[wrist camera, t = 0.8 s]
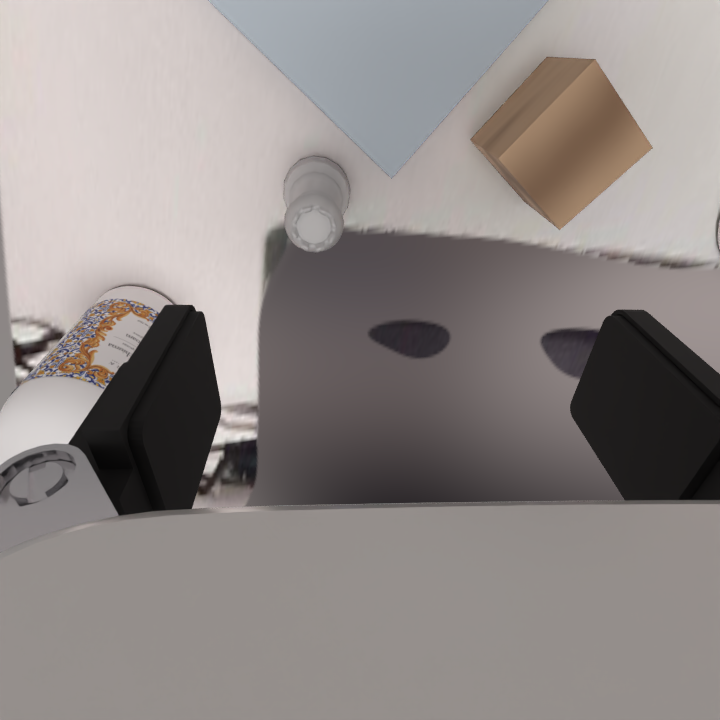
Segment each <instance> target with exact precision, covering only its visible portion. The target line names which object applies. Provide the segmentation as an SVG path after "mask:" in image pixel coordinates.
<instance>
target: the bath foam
mask: <svg viewBox="0 0 720 720" xmlns="http://www.w3.org/2000/svg"><path fill="white" fill-rule="evenodd" d="M165 305H173V304H172V303H171V302H170V301H169V300H168V299H166V298H165V297H163V296H162V295H160V294H158V293H156V292H154V291H152V290H149V289H146V288H142V287H136V286H123V287H118V288H114V289H112V290H109V291H108V292H106V293H105V294H103V295H102V296H101V297H100V298H99V299H98V300H97V301H96V302H95V303H94V304H93V305H92V307H91V308H90V309H88V310H87V311H86V312H85V314H84V315H83V316H82V317H81V318H80V319H79V320H78V321H77V322H76V323H75V324H74V326H73V327H72V328H71V329H70V330H69V331H68V332H67V333H66V334H65V335H64V336H63V338H62V339H61V340H60V341H59V342H58V343H57V344H56V345H55V346H54V347H53V348H52V350H51V351H50V352H49V353H48V354H47V355H46V356H45V357H44V358H43V359H42V360H41V362H40V363H39V364H38V365H37V366H36V367H35V368H34V369H33V370H32V371H31V372H30V374H29V375H28V376H27V377H26V378H25V379H24V380H23V381H22V382H21V383H20V385H19V386H18V387H17V388H16V389H15V390H14V391H13V392H12V394H11V395H10V397H9V399H8V400H7V401H6V403H5V405H4V406H3V408H2V410H1V412H0V465H1V464H3V463H4V462H5V461H7V460H8V459H9V458H11V457H13V456H15V455H17V454H19V453H21V452H23V451H26V450H29V449H32V448H35V447H38V446H42V445H48V444H55V443H56V444H68V443H69V442H70V440H71V439H72V437H73V436H74V434H75V433H76V431H77V430H78V428H79V427H80V425H81V424H82V422H83V421H84V419H85V418H86V416H87V415H88V413H89V412H90V411H91V409H92V408H93V406H94V405H95V403H96V402H97V400H98V399H99V397H100V396H101V394H102V393H103V391H104V390H105V388H106V387H107V385H108V384H109V382H110V381H111V379H112V378H113V376H114V375H115V373H116V372H117V370H118V369H119V367H120V366H121V365H122V364H123V363H125V362H127V361H128V360H129V358H130V357H131V355H132V354H133V352H134V351H135V349H136V348H137V346H138V345H139V343H140V342H141V340H142V339H143V337H144V336H145V334H146V333H147V331H148V330H149V328H150V327H151V325H152V324H153V322H154V321H155V319H156V318H157V316H158V315H159V313H160V312H161V310H162V309H163V307H164V306H165Z"/></svg>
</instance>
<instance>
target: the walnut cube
mask: <svg viewBox="0 0 720 720" xmlns="http://www.w3.org/2000/svg"><path fill="white" fill-rule="evenodd" d="M471 141H472V142H473V144H474V145H475V146H476V147H477V148H478V149H479V150H480V151H481V153H482V154H483V155H484V156H485V157H486V158H487V159H488V161H489V162H490V163H491V164H492V165H493V166H494V167H495V169H496V170H497V171H498V172H499V173H500V174H501V175H502V177H503V178H504V179H505V180H506V181H507V182H508V183H509V185H510V186H511V187H512V188H513V189H514V190H515V191H516V193H517V194H518V195H519V196H520V197H521V198H522V199H523V201H524V202H526V203H527V204H528V205H529V206H531V207H532V208H533V209H534V210H536V211H537V212H538V213H539V214H541V215H542V216H543V217H544V218H546V219H547V220H548V221H549V222H551V223H552V224H553V225H554V226H556V227H557V228H558V229H559V230H560V229H561V228H562V227H564V226H565V225H566V224H567V223H568V222H569V221H570V220H571V219H573V218H574V217H575V216H576V215H577V214H578V213H579V212H581V211H582V210H583V209H584V208H585V207H586V206H587V205H588V204H590V203H591V202H592V201H593V200H594V199H595V198H596V197H598V196H599V195H600V194H601V193H602V192H603V191H604V190H605V189H607V188H608V187H609V186H610V185H611V184H612V183H613V182H615V181H616V180H617V179H618V178H619V177H620V176H621V175H622V174H624V173H625V172H626V171H627V170H628V169H629V168H630V167H631V166H633V165H634V164H635V163H636V162H637V161H638V160H639V159H641V158H642V157H643V156H644V155H645V154H646V153H647V152H648V151H650V150H651V149H652V146H651V144H650V143H649V141H648V140H647V138H646V137H645V135H644V134H643V132H642V131H641V129H640V128H639V126H638V125H637V123H636V121H635V120H634V118H633V117H632V115H631V114H630V112H629V111H628V109H627V108H626V106H625V105H624V103H623V101H622V100H621V98H620V97H619V95H618V94H617V92H616V91H615V89H614V88H613V86H612V85H611V83H610V81H609V80H608V78H607V77H606V75H605V74H604V72H603V71H602V69H601V68H600V66H599V65H598V63H597V61H596V60H595V59H578V58H558V57H547V58H546V59H545V60H544V61H543V62H542V63H541V64H540V65H539V66H538V67H537V68H536V69H535V71H534V72H533V73H532V74H531V75H530V76H529V77H528V78H527V79H526V80H525V81H524V82H523V83H522V85H521V86H520V87H519V88H518V89H517V90H516V91H515V92H514V93H513V94H512V95H511V96H510V98H509V99H508V100H507V101H506V102H505V103H504V104H503V105H502V106H501V107H500V108H499V109H498V110H497V112H496V113H495V114H494V115H493V116H492V117H491V118H490V119H489V120H488V121H487V122H486V123H485V124H484V126H483V127H482V128H481V129H480V130H479V131H478V132H477V133H476V134H475V135H474V136H473V137H472V138H471Z"/></svg>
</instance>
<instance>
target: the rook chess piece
mask: <svg viewBox="0 0 720 720" xmlns="http://www.w3.org/2000/svg"><path fill="white" fill-rule="evenodd" d="M349 195H350V187H349V183H348V179H347V176H346V175H345V173H344V172H343V171H342V169H341V168H340V167H339V165H337V164H336V163H334V162H332V161H331V160H329V159H327V158H323V157H316V156H312V157H309V158H305V159H302V160H300V161H298V162H297V163H296V164H295V165H294V166H293V167H291V168H290V170H289V172H288V174H287V176H286V178H285V180H284V201H285V203H286V206H287V211H286V213H285V224H284V226H285V229H286V232H287V235H288V237H289V238H290V239H291V241H292V242H293V243H294V244H295V245H296V246H297V247H299V248H301V249H303V250H305V251H311V252H321V251H324V250H328V249H329V248H331V247H332V246H333V245H335V244H336V243H337V242H338V240H339V238H340V237H341V235H342V233H343V225H344V220H343V217H342V216H343V214H344V212H345V211H346V209H347V207H348V203H349Z"/></svg>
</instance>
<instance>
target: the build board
mask: <svg viewBox="0 0 720 720" xmlns="http://www.w3.org/2000/svg"><path fill="white" fill-rule="evenodd" d="M208 1H209V2H210V3H211V4H212V5H213V6H214V7H215V8H216V9H218V10H219V11H220V12H221V13H222V14H223V15H224V16H225V17H226V18H227V19H228V20H229V21H230V22H231V23H232V24H233V25H234V26H235V27H236V28H237V29H238V30H239V31H240V32H241V33H242V34H243V35H244V36H245V37H246V38H247V39H248V40H249V41H250V42H251V43H253V44H254V45H255V46H256V47H257V48H258V49H259V50H260V51H261V52H262V53H263V54H264V55H265V56H266V57H267V58H268V59H269V60H270V61H271V62H272V63H273V64H274V65H275V66H276V67H277V68H278V69H279V70H280V71H281V72H282V73H283V74H284V75H285V76H286V77H288V78H289V79H290V80H291V81H292V82H293V83H294V84H295V85H296V86H297V87H298V88H299V89H300V90H301V91H302V92H303V93H304V94H305V95H306V96H307V97H308V98H309V99H310V100H311V101H312V102H313V103H314V104H315V105H316V106H317V107H318V108H319V109H320V110H321V111H323V112H324V113H325V114H326V115H327V116H328V117H329V118H330V119H331V120H332V121H333V122H334V123H335V124H336V125H337V126H338V127H339V128H340V129H341V130H342V131H343V132H344V133H345V134H346V135H347V136H348V137H349V138H350V139H351V140H352V141H353V142H354V143H355V144H356V145H358V146H359V147H360V148H361V149H362V150H363V151H364V152H365V153H366V154H367V155H368V156H369V157H370V158H371V159H372V160H373V161H374V162H375V163H376V164H377V165H378V166H379V167H380V168H381V169H382V170H383V171H384V172H385V173H386V174H387V175H388V176H389V177H390V178H391V179H392V178H393V176H394V175H395V174H396V173H397V172H398V171H399V170H400V169H401V167H402V166H403V165H404V164H405V163H406V162H407V161H408V159H409V158H410V157H411V156H412V155H413V154H414V153H415V151H416V150H417V149H418V148H419V147H420V146H421V145H422V144H423V142H424V141H425V140H426V139H427V138H428V137H429V136H430V134H431V133H432V132H433V131H434V130H435V129H436V128H437V126H438V125H439V124H440V123H441V122H442V121H443V120H444V118H445V117H446V116H447V115H448V114H449V113H450V112H451V111H452V109H453V108H454V107H455V106H456V105H457V104H458V103H459V101H460V100H461V99H462V98H463V97H464V96H465V95H466V93H467V92H468V91H469V90H470V89H471V88H472V87H473V86H474V84H475V83H476V82H477V81H478V80H479V79H480V78H481V76H482V75H483V74H484V73H485V72H486V71H487V70H488V68H489V67H490V66H491V65H492V64H493V63H494V62H495V61H496V59H497V58H498V57H499V56H500V55H501V54H502V53H503V51H504V50H505V49H506V48H507V47H508V46H509V45H510V43H511V42H512V41H513V40H514V39H515V38H516V37H517V36H518V34H519V33H520V32H521V31H522V30H523V29H524V28H525V26H526V25H527V24H528V23H529V22H530V21H531V20H532V18H533V17H534V16H535V15H536V14H537V13H538V12H539V11H540V9H541V8H542V7H543V6H544V5H545V4H546V3H547V1H548V0H208Z"/></svg>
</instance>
